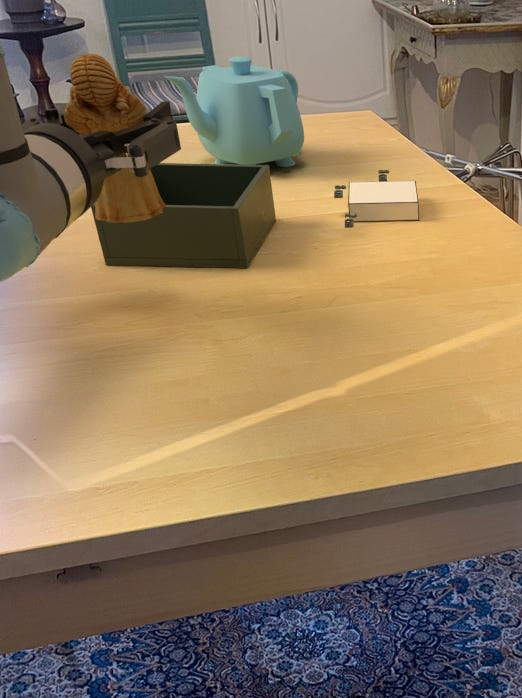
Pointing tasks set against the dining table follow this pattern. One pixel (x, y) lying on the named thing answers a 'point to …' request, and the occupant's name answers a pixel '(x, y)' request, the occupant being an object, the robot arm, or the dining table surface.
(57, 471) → the dining table surface
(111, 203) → the figurine
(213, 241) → the bin
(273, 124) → the teapot
